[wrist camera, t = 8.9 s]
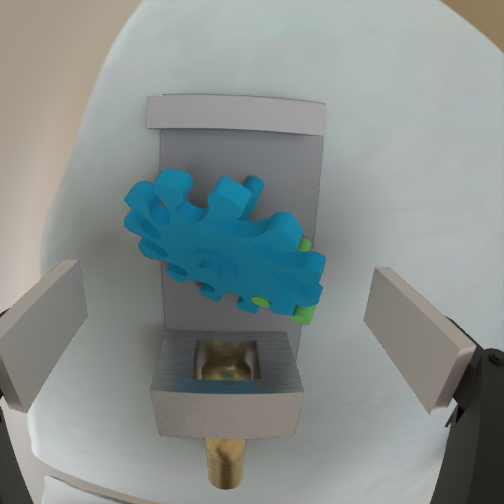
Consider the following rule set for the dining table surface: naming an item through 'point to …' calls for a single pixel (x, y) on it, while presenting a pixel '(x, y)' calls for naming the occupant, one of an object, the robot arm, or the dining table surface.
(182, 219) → the gear
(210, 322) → the housing
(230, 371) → the shaft
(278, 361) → the bearing block
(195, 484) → the dining table surface
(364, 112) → the dining table surface
